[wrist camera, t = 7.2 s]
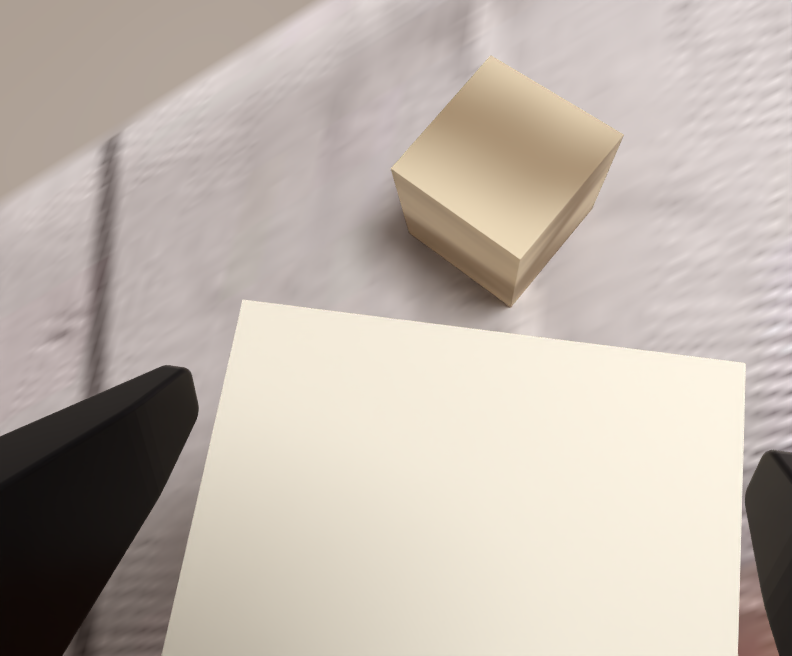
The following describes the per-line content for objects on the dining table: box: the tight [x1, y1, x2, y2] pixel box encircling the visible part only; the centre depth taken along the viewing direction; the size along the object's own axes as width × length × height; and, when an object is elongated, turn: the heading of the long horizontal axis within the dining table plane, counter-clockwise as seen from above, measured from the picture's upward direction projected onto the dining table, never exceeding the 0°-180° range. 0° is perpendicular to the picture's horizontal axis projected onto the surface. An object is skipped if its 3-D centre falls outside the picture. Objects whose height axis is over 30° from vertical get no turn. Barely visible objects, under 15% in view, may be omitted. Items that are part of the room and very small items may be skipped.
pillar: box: [162, 300, 746, 656], centre depth 10 cm, size 4×4×12 cm
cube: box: [391, 56, 624, 307], centre depth 20 cm, size 5×5×5 cm
